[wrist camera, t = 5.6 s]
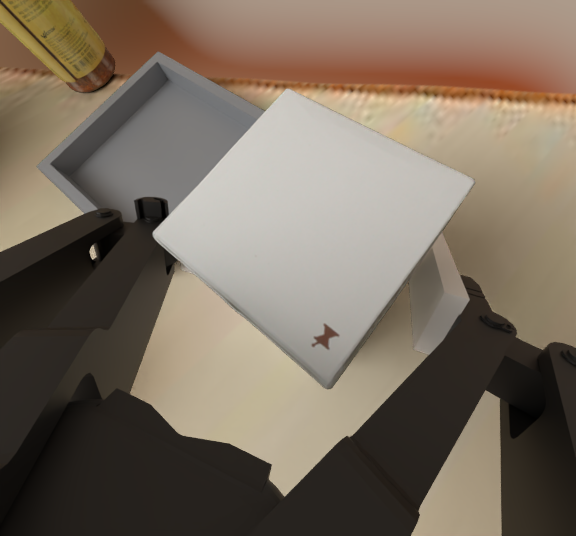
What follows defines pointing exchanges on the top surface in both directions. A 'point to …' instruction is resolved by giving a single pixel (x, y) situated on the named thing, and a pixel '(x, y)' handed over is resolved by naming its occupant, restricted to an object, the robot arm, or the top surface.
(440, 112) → the top surface
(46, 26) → the sauce bottle
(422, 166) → the supplement box
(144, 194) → the tray
